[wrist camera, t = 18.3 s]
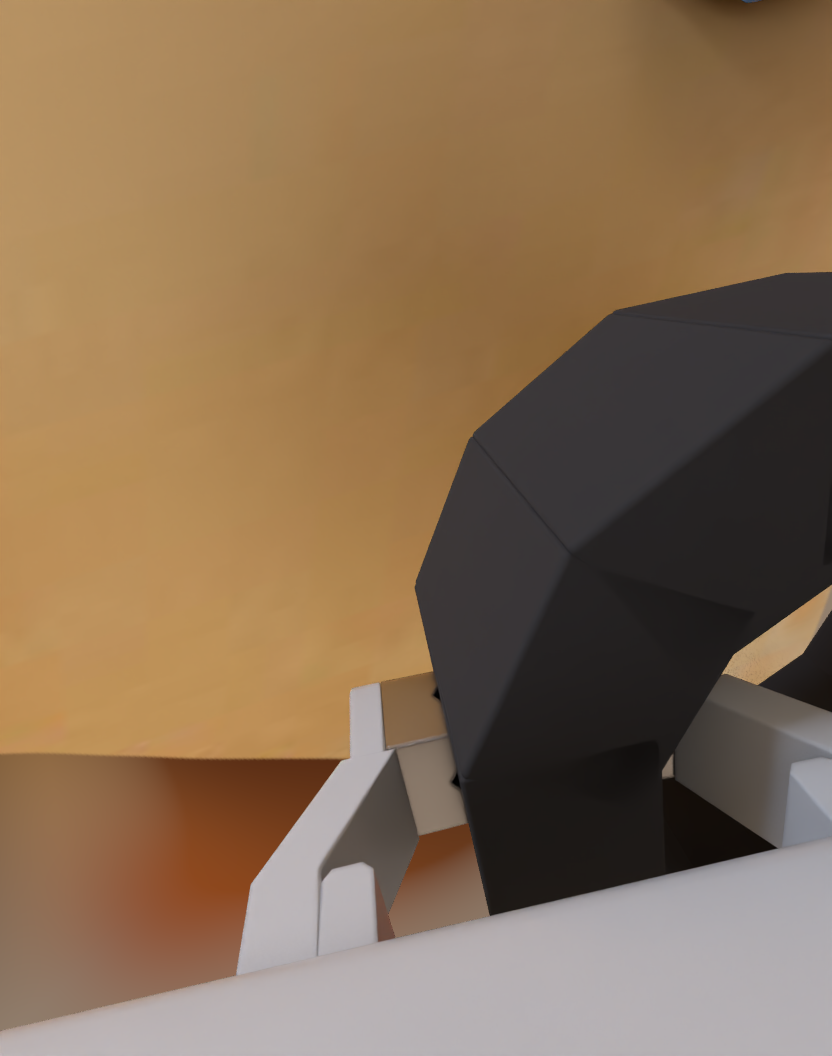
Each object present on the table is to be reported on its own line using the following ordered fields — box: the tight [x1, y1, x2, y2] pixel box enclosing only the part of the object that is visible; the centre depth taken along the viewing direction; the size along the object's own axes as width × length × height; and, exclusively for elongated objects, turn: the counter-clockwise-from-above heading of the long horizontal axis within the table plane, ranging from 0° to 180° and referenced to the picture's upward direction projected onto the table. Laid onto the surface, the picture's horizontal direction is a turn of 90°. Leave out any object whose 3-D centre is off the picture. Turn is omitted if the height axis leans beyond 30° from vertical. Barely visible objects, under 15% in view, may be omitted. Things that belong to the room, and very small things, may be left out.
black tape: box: [415, 272, 832, 916], centre depth 10 cm, size 11×11×5 cm
